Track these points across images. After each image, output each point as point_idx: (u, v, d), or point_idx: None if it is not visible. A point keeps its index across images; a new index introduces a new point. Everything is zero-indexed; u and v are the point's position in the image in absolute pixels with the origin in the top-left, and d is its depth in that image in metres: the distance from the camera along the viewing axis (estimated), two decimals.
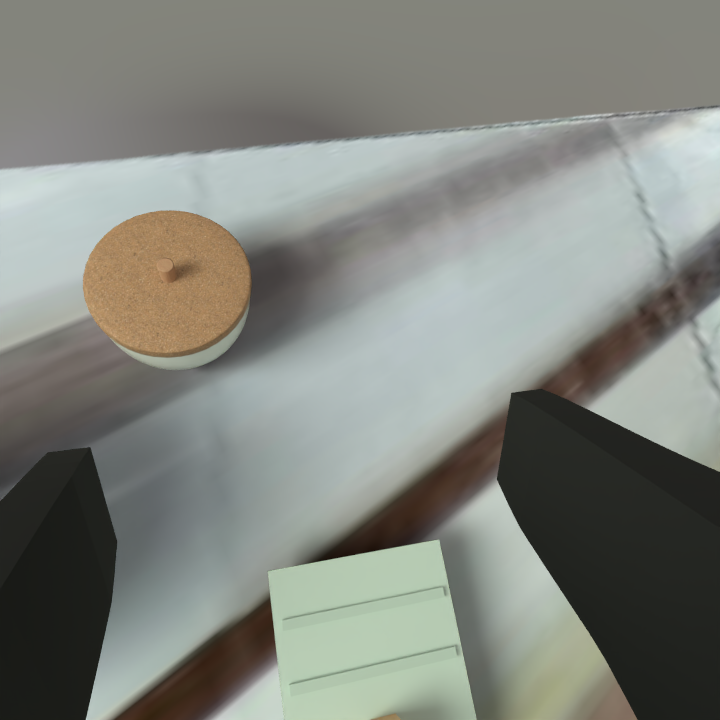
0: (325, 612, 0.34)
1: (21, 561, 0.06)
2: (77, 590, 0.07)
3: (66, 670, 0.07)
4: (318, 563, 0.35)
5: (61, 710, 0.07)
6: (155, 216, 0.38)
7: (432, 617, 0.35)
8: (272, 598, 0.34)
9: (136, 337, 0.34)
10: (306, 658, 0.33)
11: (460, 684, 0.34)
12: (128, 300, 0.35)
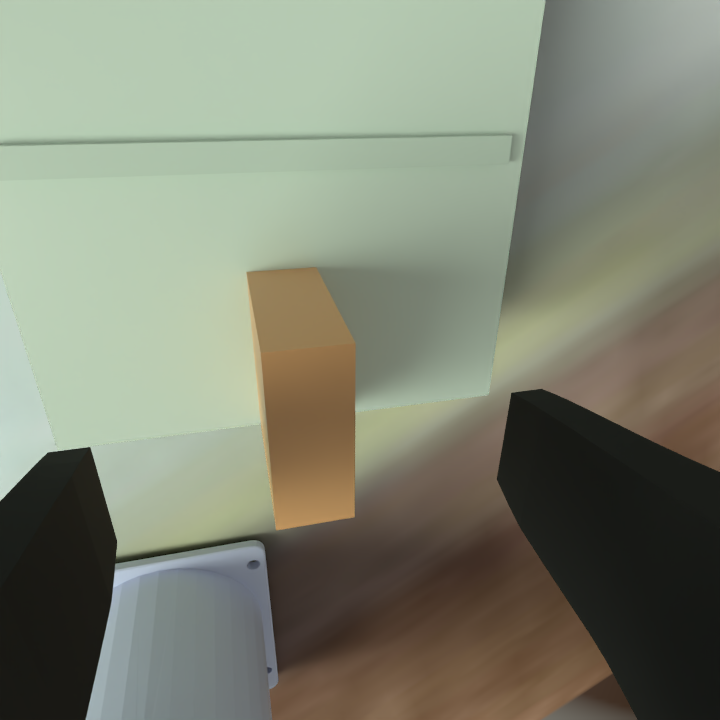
0: None
1: (21, 561, 0.06)
2: (77, 590, 0.07)
3: (66, 670, 0.07)
4: None
5: (61, 710, 0.07)
6: None
7: (474, 37, 0.11)
8: None
9: None
10: (44, 75, 0.10)
11: (491, 229, 0.13)
12: None
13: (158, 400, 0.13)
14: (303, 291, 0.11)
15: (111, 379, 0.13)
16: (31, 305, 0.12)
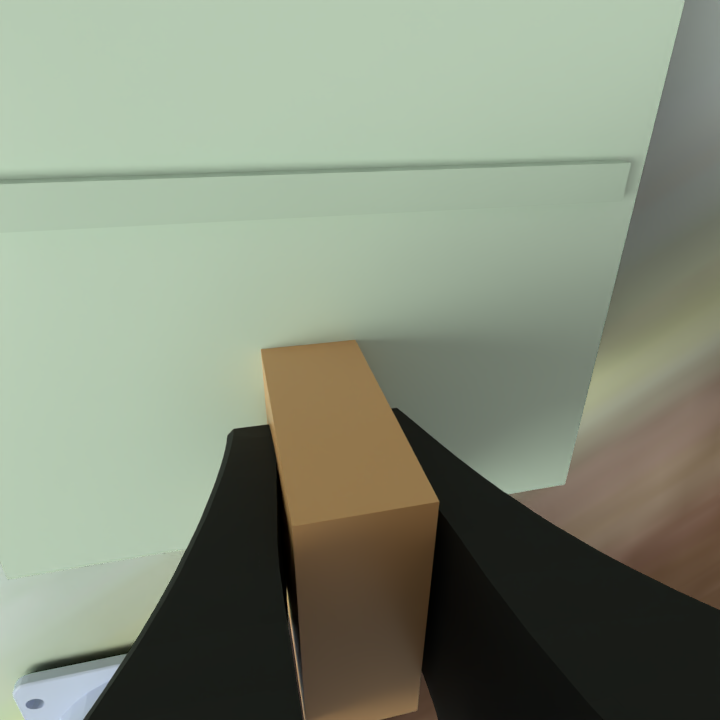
0: None
1: (275, 519, 0.06)
2: (282, 553, 0.08)
3: None
4: None
5: None
6: None
7: (590, 25, 0.08)
8: None
9: None
10: None
11: (587, 284, 0.10)
12: None
13: (141, 513, 0.10)
14: (343, 386, 0.08)
15: (78, 490, 0.09)
16: None
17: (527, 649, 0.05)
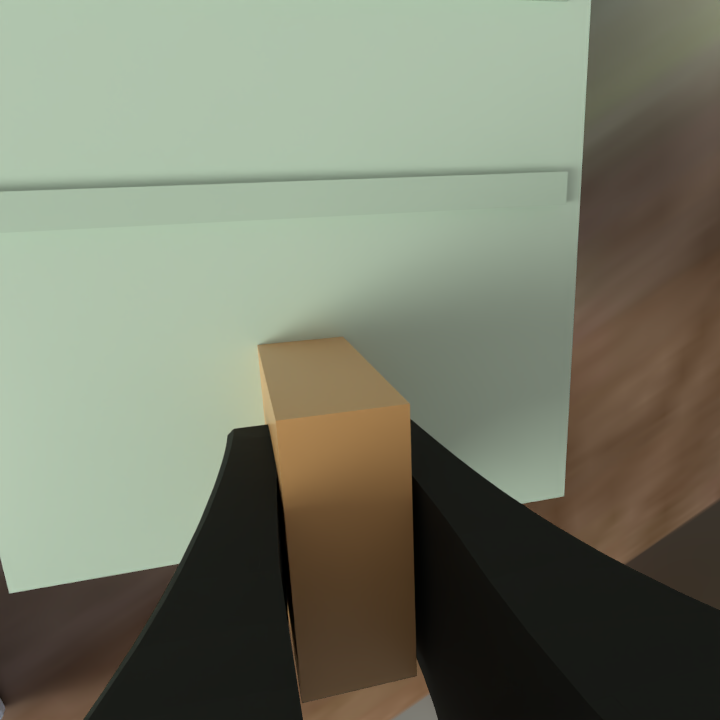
0: None
1: (276, 519, 0.06)
2: (282, 553, 0.08)
3: None
4: None
5: None
6: None
7: (514, 65, 0.10)
8: None
9: None
10: (17, 113, 0.08)
11: (550, 285, 0.11)
12: None
13: (144, 518, 0.10)
14: (329, 357, 0.09)
15: (85, 490, 0.10)
16: None
17: (528, 650, 0.05)
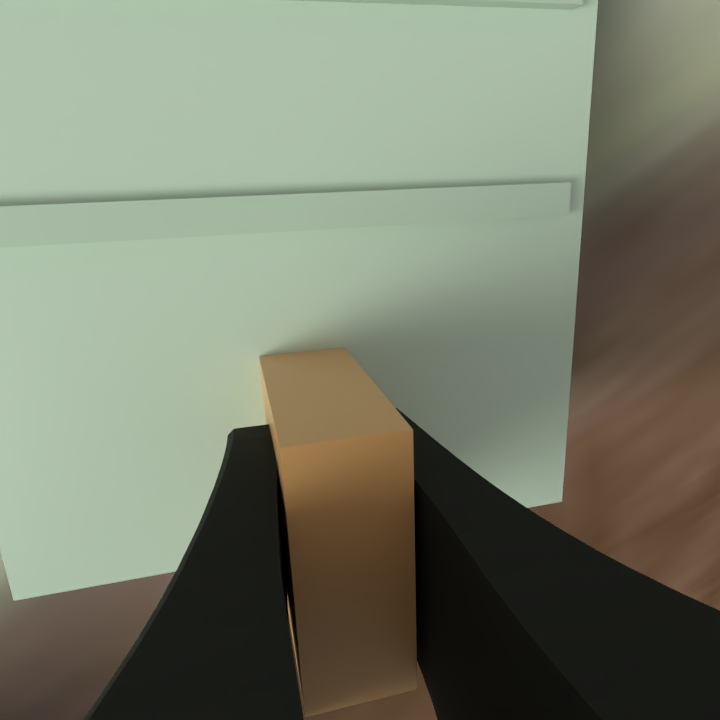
0: None
1: (276, 519, 0.06)
2: (283, 553, 0.08)
3: None
4: None
5: None
6: None
7: (519, 75, 0.10)
8: None
9: None
10: (16, 126, 0.08)
11: (552, 294, 0.11)
12: None
13: (147, 526, 0.10)
14: (332, 372, 0.09)
15: (87, 500, 0.10)
16: None
17: (526, 650, 0.05)
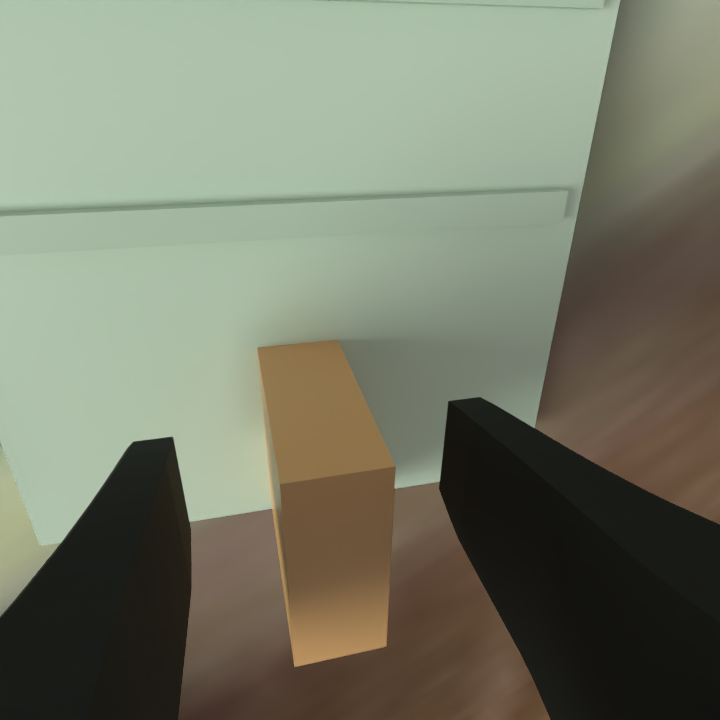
0: None
1: (139, 541, 0.06)
2: (172, 573, 0.08)
3: (168, 649, 0.07)
4: None
5: (166, 687, 0.07)
6: None
7: (528, 79, 0.09)
8: None
9: None
10: (15, 133, 0.08)
11: (538, 292, 0.12)
12: None
13: None
14: (325, 378, 0.10)
15: (101, 468, 0.11)
16: (5, 392, 0.10)
17: (681, 613, 0.05)
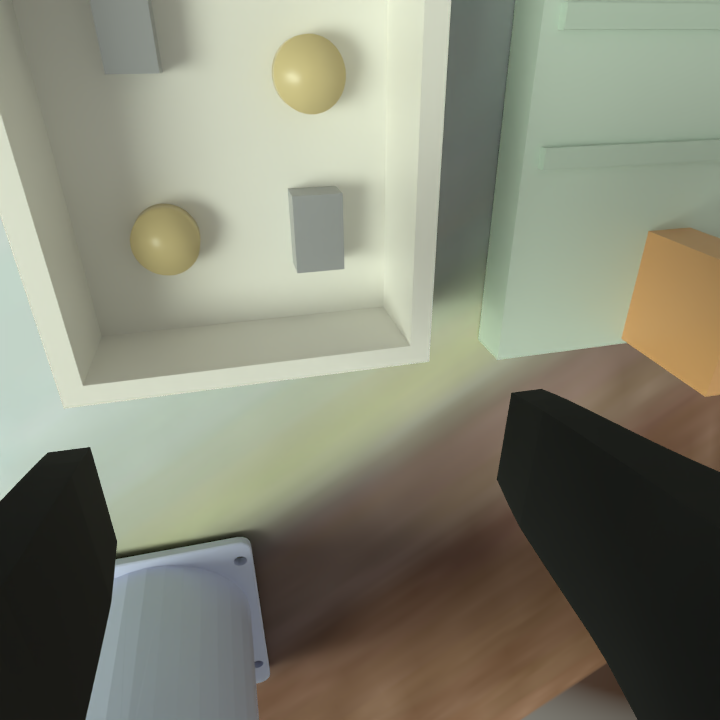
0: (658, 5, 0.14)
1: (21, 561, 0.06)
2: (77, 590, 0.07)
3: (66, 670, 0.07)
4: None
5: (61, 710, 0.07)
6: None
7: None
8: None
9: None
10: (584, 102, 0.16)
11: None
12: None
13: (566, 324, 0.19)
14: (710, 241, 0.17)
15: (546, 307, 0.19)
16: (522, 254, 0.17)
17: None
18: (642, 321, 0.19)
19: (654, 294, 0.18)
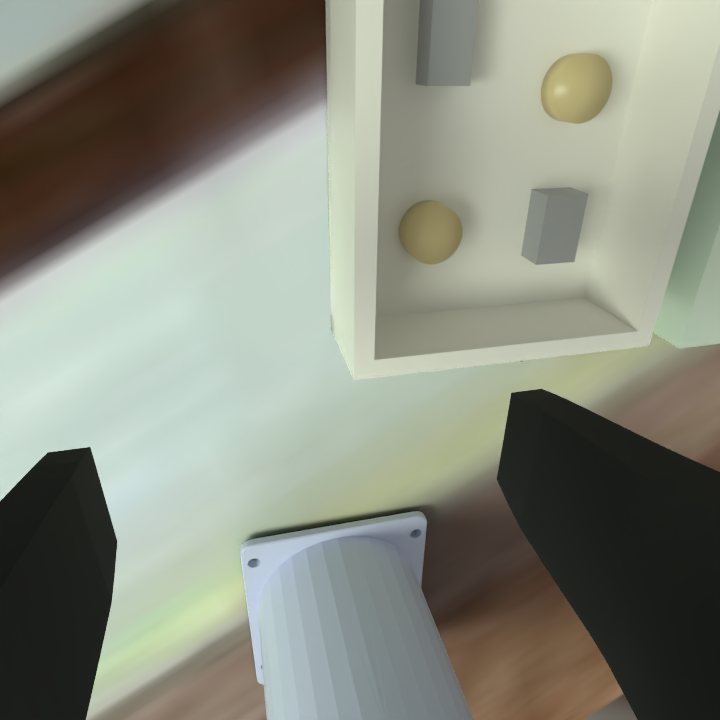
0: None
1: (21, 561, 0.06)
2: (77, 590, 0.07)
3: (66, 670, 0.07)
4: None
5: (61, 710, 0.07)
6: None
7: None
8: None
9: None
10: None
11: None
12: None
13: None
14: None
15: None
16: (719, 252, 0.19)
17: None
18: None
19: None
